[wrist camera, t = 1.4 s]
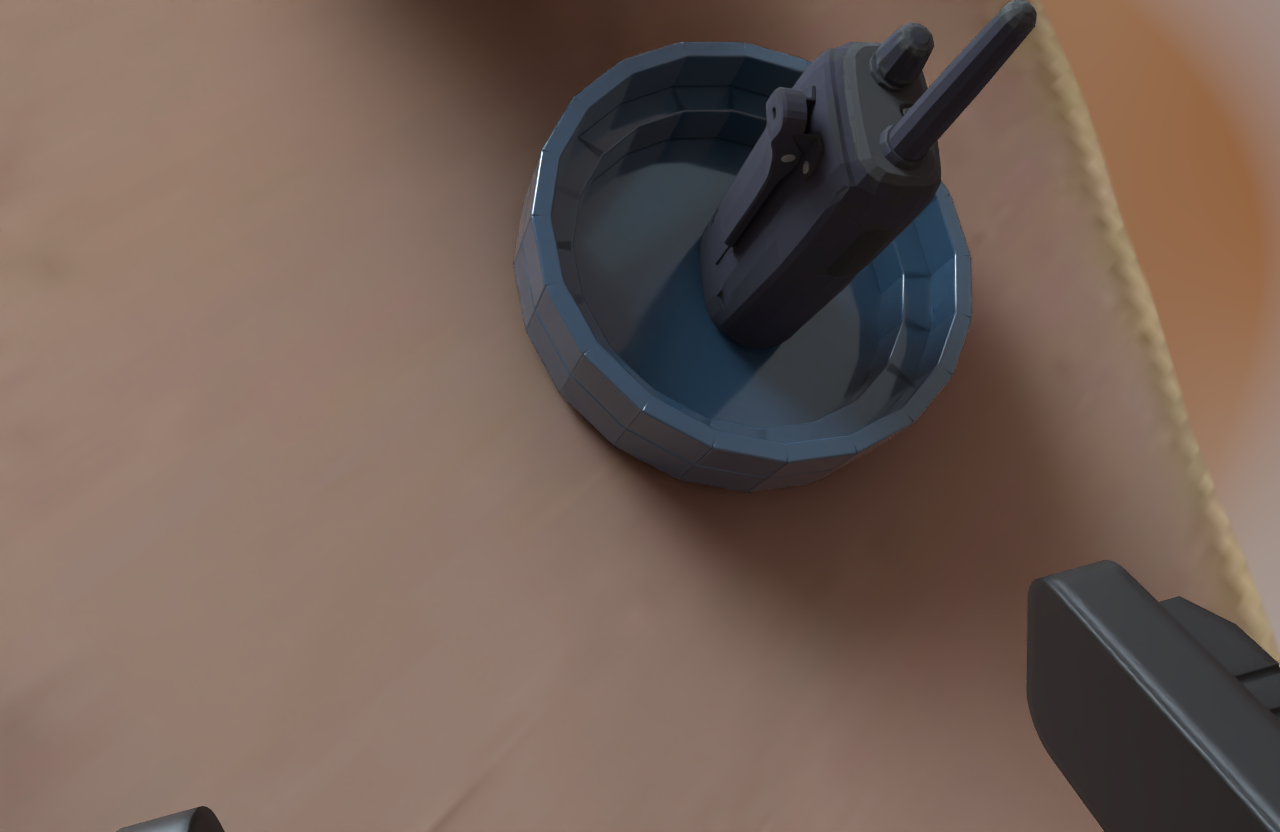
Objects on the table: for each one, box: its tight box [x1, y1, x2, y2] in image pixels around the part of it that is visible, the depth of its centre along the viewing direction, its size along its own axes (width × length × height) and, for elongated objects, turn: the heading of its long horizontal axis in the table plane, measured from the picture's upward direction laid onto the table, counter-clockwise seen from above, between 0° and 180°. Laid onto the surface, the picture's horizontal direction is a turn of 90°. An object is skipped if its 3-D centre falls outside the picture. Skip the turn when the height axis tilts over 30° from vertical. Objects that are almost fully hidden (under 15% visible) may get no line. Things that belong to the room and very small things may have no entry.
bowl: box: [513, 42, 972, 492], centre depth 34 cm, size 14×14×4 cm
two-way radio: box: [700, 0, 1037, 349], centre depth 29 cm, size 6×4×15 cm
